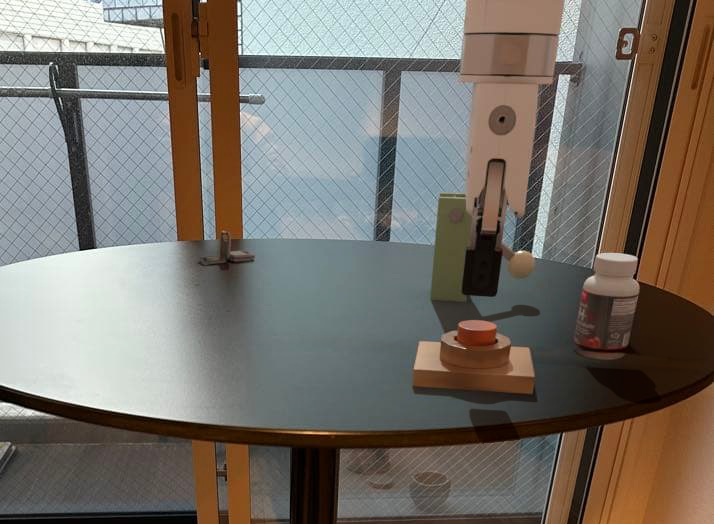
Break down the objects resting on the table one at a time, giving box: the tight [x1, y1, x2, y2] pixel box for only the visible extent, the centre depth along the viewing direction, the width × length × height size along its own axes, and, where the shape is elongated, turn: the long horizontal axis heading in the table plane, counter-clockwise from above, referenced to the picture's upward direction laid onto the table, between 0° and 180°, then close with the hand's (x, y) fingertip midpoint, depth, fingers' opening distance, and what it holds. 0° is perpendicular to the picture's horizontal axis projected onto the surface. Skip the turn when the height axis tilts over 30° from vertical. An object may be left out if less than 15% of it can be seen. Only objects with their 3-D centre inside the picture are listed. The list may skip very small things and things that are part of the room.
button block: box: [411, 329, 536, 395], centre depth 77 cm, size 11×9×4 cm
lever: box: [453, 195, 536, 280], centre depth 96 cm, size 13×3×3 cm
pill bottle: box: [573, 252, 641, 361], centre depth 82 cm, size 5×5×10 cm
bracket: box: [429, 191, 472, 303], centre depth 97 cm, size 12×9×13 cm
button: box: [456, 319, 498, 346], centre depth 76 cm, size 4×4×2 cm
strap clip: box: [197, 230, 256, 265], centre depth 121 cm, size 8×3×4 cm, turn 118°
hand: (478, 293), depth 74 cm, fingers closed
